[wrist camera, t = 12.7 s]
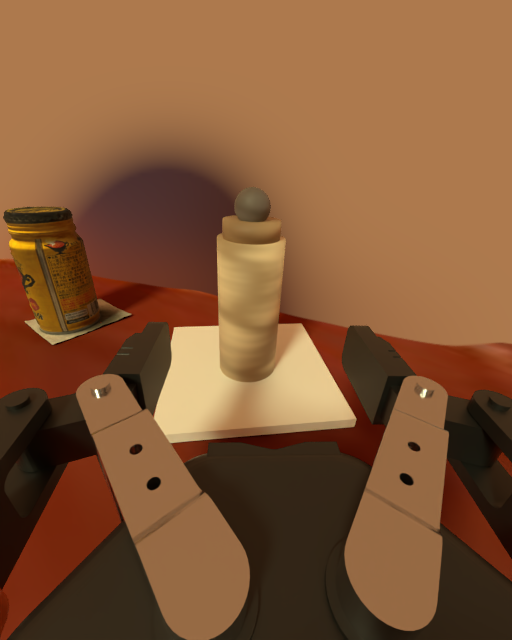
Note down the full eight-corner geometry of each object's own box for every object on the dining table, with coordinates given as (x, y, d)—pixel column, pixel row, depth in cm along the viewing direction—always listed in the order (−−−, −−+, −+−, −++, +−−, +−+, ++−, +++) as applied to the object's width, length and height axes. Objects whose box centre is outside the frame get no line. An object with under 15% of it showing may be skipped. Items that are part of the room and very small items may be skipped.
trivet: (300, 329, 33) (301, 323, 32) (354, 426, 20) (356, 418, 20) (175, 333, 31) (174, 327, 30) (151, 444, 18) (149, 435, 18)
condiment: (24, 323, 31) (-21, 207, 26) (100, 300, 37) (77, 202, 32) (53, 346, 28) (7, 217, 22) (132, 316, 34) (112, 209, 28)
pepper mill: (268, 347, 27) (281, 186, 21) (279, 380, 23) (299, 191, 17) (219, 350, 27) (214, 183, 20) (220, 384, 23) (216, 188, 16)
